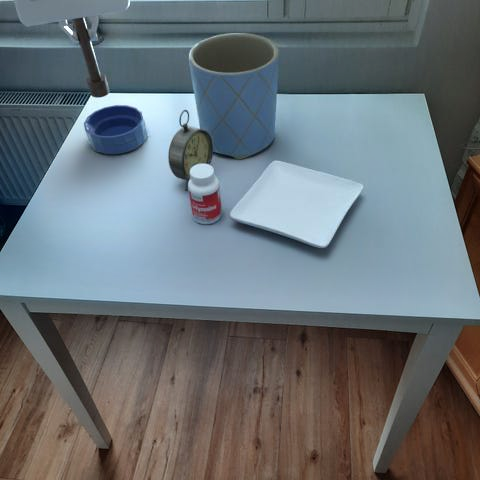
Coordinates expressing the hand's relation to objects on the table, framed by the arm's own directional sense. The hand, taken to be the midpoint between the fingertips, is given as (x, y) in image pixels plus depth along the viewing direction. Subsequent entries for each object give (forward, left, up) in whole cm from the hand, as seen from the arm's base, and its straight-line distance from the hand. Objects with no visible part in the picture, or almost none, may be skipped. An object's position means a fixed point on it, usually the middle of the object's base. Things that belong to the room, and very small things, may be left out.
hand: (84, 41), depth 92 cm
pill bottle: (+15, -28, -26) cm, 41 cm away
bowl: (+1, +7, -26) cm, 27 cm away
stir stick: (0, 0, -10) cm, 10 cm away
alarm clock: (+15, -15, -26) cm, 33 cm away
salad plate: (+33, -33, -26) cm, 53 cm away
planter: (+29, -3, -26) cm, 39 cm away
